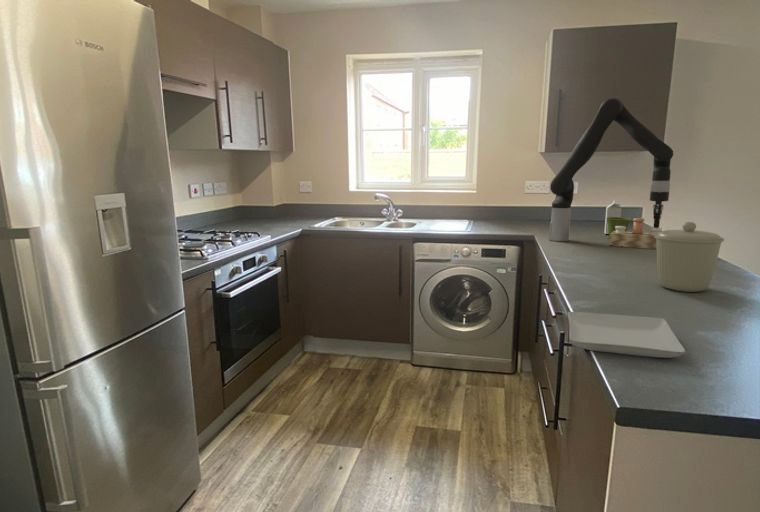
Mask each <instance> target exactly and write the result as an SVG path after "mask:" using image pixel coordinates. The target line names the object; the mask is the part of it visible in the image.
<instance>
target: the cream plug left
mask: <svg viewBox="0 0 760 512" xmlns="http://www.w3.org/2000/svg"><path fill="white" fill-rule="evenodd" d="M615 229H616V233H622V234H625V229H626V227H625V226H615Z"/></svg>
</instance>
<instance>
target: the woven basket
mask: <svg viewBox="0 0 760 512" xmlns="http://www.w3.org/2000/svg"><path fill="white" fill-rule="evenodd" d="M610 245H613V246H612V247H621V246H623V248H637V249H652V250H657V247H656V238H655V237H654V235H651V232H642V235H639V234H633V231H626V232H625V234H622V233H616V231H613V232H612V233H611V234H610V239H609V246H610Z"/></svg>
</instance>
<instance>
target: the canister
mask: <svg viewBox="0 0 760 512" xmlns="http://www.w3.org/2000/svg"><path fill="white" fill-rule="evenodd" d="M681 226H682V229H668V230H667V229H666V230H662V231H661V232H659V233H658V234H655V235H654V237H655V238H656V247H657V249H656V269H657V280H658V284H660V285H661V287H663V288H666V289H668V290H672V291H675V292H676V291H677V292H684V293H686V292H687V293H699V292H703V291H706V290H707V289H708V288H709V286H710V285H711V282H712V280H713V279H712V278H713V276H714V272H715V268H716V265H717V260H718V257H719V254H720V249H721V245H722V243H723V242H724V241H725V238H724V237H722V236H720V235H719V234H717V233H714V232H710V231H704V230H696V228H697V224H696V223H695V222H693V221H692V222H691V221H686V222H684V223H683V224H682V225H681Z"/></svg>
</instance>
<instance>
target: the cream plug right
mask: <svg viewBox="0 0 760 512" xmlns="http://www.w3.org/2000/svg"><path fill="white" fill-rule="evenodd" d="M649 231H650V233H651V235H655V234H658V233H659V232H661V231H663V228H661V227H659V228H654V227H650V228H649Z"/></svg>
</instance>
